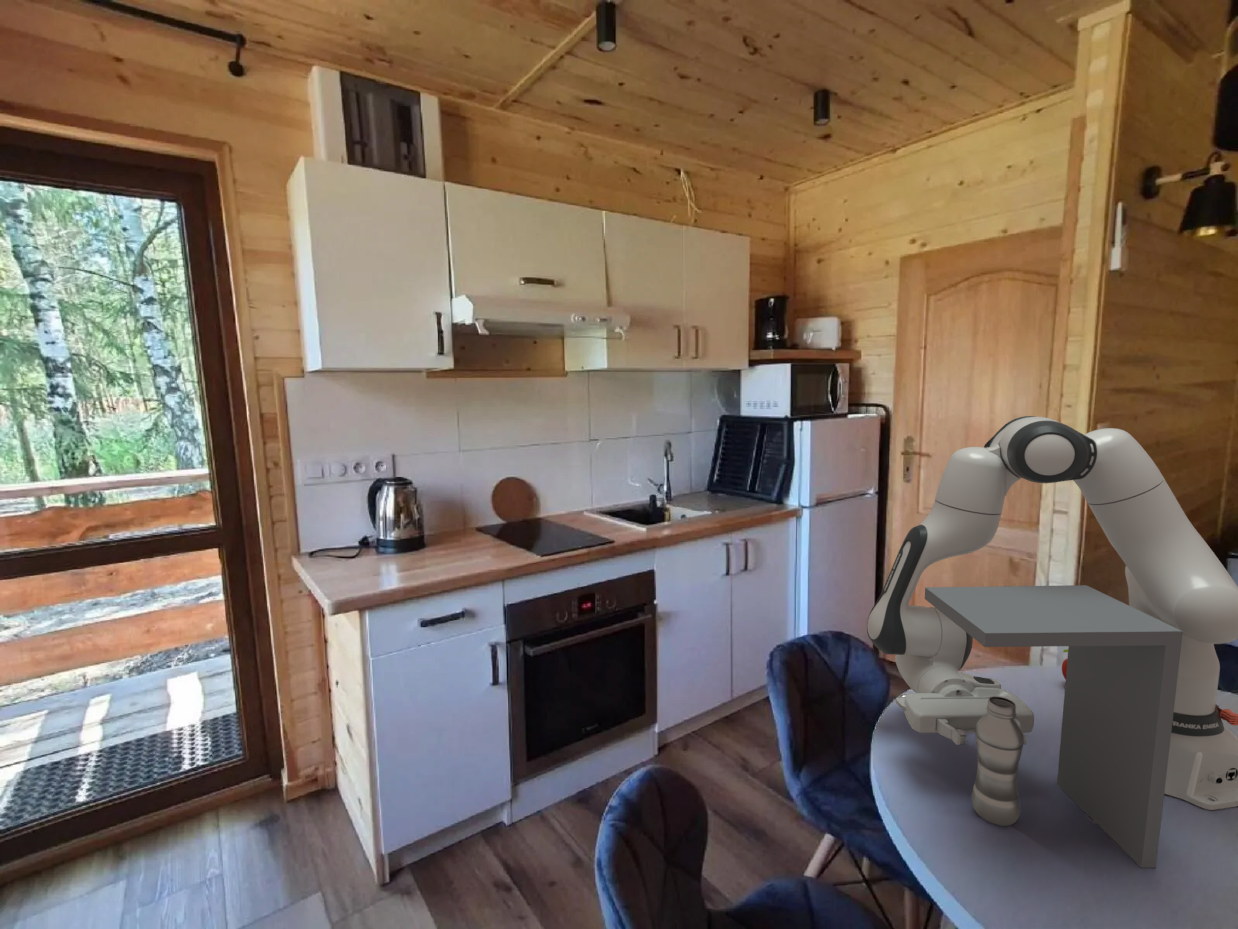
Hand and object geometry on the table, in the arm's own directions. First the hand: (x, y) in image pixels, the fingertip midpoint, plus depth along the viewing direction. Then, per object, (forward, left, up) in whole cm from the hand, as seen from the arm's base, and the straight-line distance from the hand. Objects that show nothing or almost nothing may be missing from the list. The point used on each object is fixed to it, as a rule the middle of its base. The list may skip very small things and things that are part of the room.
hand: (991, 741), depth 98 cm
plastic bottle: (0, +2, -12) cm, 12 cm away
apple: (-40, -37, -12) cm, 56 cm away
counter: (-4, +3, -12) cm, 13 cm away
